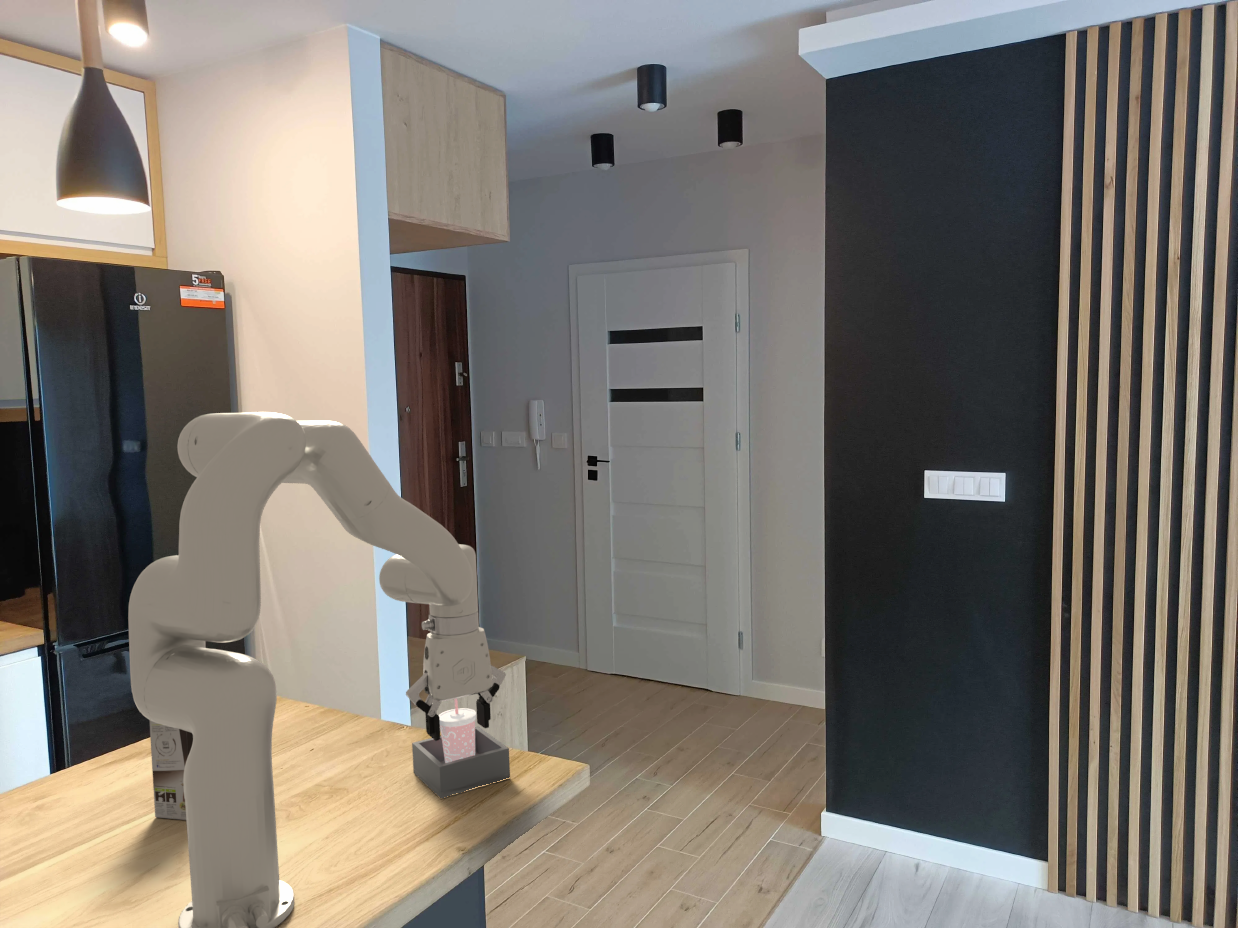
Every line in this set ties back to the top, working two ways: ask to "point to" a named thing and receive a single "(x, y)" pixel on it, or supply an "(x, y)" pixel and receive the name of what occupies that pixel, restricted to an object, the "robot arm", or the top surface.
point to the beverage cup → (458, 733)
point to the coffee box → (169, 769)
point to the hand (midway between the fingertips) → (459, 730)
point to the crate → (460, 765)
